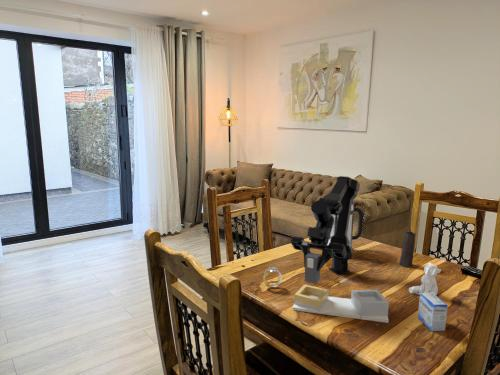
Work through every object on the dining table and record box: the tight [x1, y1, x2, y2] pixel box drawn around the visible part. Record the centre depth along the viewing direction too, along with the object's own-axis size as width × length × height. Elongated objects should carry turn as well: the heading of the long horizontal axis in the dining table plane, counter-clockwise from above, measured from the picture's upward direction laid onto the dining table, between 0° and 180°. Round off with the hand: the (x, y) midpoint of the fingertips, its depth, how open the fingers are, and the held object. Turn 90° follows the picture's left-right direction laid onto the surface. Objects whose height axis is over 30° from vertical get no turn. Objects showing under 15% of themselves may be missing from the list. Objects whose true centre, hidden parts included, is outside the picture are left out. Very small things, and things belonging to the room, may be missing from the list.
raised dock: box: [350, 289, 390, 320], centre depth 120 cm, size 9×9×6 cm
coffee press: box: [328, 200, 364, 253], centre depth 176 cm, size 17×16×30 cm
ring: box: [262, 266, 283, 288], centre depth 137 cm, size 7×3×8 cm, turn 89°
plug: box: [304, 251, 322, 285], centre depth 123 cm, size 5×4×9 cm
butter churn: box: [399, 201, 416, 268], centre depth 157 cm, size 9×10×28 cm
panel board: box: [292, 296, 389, 324], centre depth 123 cm, size 30×11×1 cm, turn 75°
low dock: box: [293, 283, 330, 315], centre depth 125 cm, size 9×9×4 cm
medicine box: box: [417, 293, 448, 332], centre depth 112 cm, size 8×4×9 cm, turn 5°
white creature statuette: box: [408, 262, 442, 296], centre depth 131 cm, size 10×9×12 cm
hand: (311, 269), depth 122 cm, fingers closed on plug, 4 cm apart
